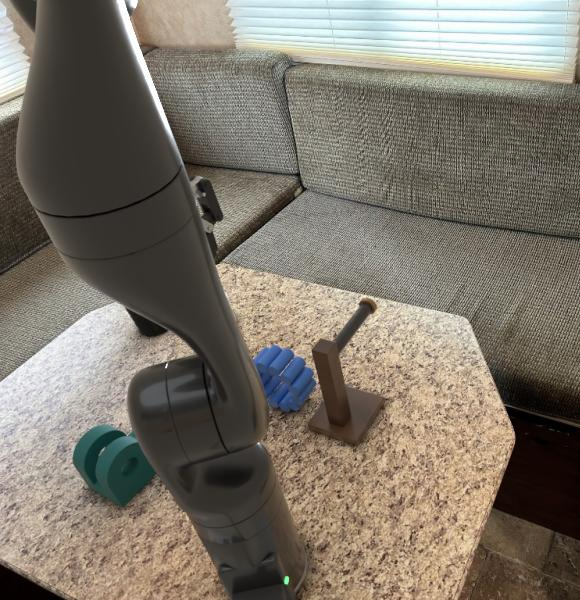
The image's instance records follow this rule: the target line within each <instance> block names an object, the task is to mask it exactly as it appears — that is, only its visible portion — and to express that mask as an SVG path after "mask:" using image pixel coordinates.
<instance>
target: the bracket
mask: <svg viewBox="0 0 580 600" xmlns="http://www.w3.org/2000/svg"><path fill="white" fill-rule="evenodd" d="M72 465H73V466H74V468H75V470H76V472H78V474H79V475H80V477H81V479H82V480H83V482H84V483H85V484H86V485H87V487H88V488H89V489H91V490H92V491H94V492H96V494H99V495H101V496H102V497H104V498H106V499H107V500H109V501H111V502H112V503H114V504H116V505H118V506H119V507H121V508H124V507H125V506H126V505H127V504H128V503H129V502H130V501H131V500H132V499H133V498H134V497H135V496H136V495H137V494H138V493H139V492H140V491H141V490H142V489H143V487H144V486H146V485H147V484H148V482H149V481H150V480H152V478H153V477H155V475H157V473H156V472H155V470H154V469H153V467H152V466H151V465H150V463H149V461H148V460H147V458H146V457H145V455H144V453H143V452H142V450H141V447H140V445H139V443H138V441H137V439H136V437H135V435H134V432H133V430H132V431H131V432H130V433H129V434H128V435H127V434H126V433H125V432H124V431H122V430H120V429H118V428H116V427H114V426H112V425H109V424H104V423H103V424H98V425H96V426H94V427H92V428H90V429H88V430H87V431H86V432H85V433H83V434H82V436H81V437H80V438H79V440H78V441H77V443H76V444H75V447H74V449H73V452H72Z"/></svg>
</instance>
